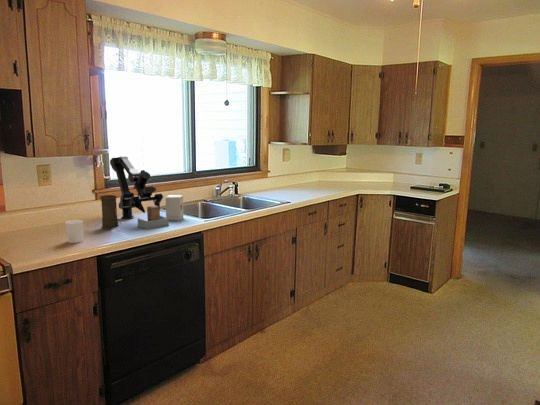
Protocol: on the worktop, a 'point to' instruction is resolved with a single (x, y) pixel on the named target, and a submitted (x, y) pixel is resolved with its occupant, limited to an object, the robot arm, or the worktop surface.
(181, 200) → the supplement box
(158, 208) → the walnut block
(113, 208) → the container
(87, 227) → the worktop surface
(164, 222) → the open box
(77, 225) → the white cup
